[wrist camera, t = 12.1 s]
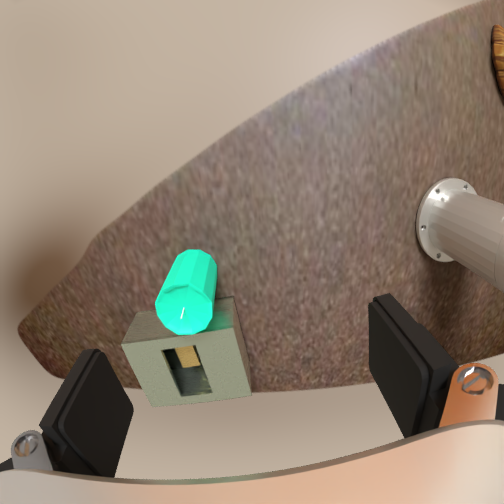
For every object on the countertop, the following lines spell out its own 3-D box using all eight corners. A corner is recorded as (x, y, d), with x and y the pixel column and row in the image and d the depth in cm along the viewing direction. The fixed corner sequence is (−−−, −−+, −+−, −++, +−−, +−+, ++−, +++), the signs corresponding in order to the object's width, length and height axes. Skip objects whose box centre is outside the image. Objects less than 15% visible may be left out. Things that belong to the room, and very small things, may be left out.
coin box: (233, 295, 43) (233, 327, 35) (249, 359, 46) (251, 395, 39) (137, 312, 43) (120, 344, 35) (161, 371, 47) (152, 406, 39)
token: (188, 334, 38) (200, 365, 40) (192, 314, 43) (203, 343, 44) (170, 337, 38) (183, 367, 40) (176, 317, 43) (187, 346, 44)
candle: (212, 296, 43) (205, 349, 31) (168, 285, 42) (147, 335, 31) (222, 255, 41) (218, 298, 30) (176, 244, 40) (155, 283, 29)
